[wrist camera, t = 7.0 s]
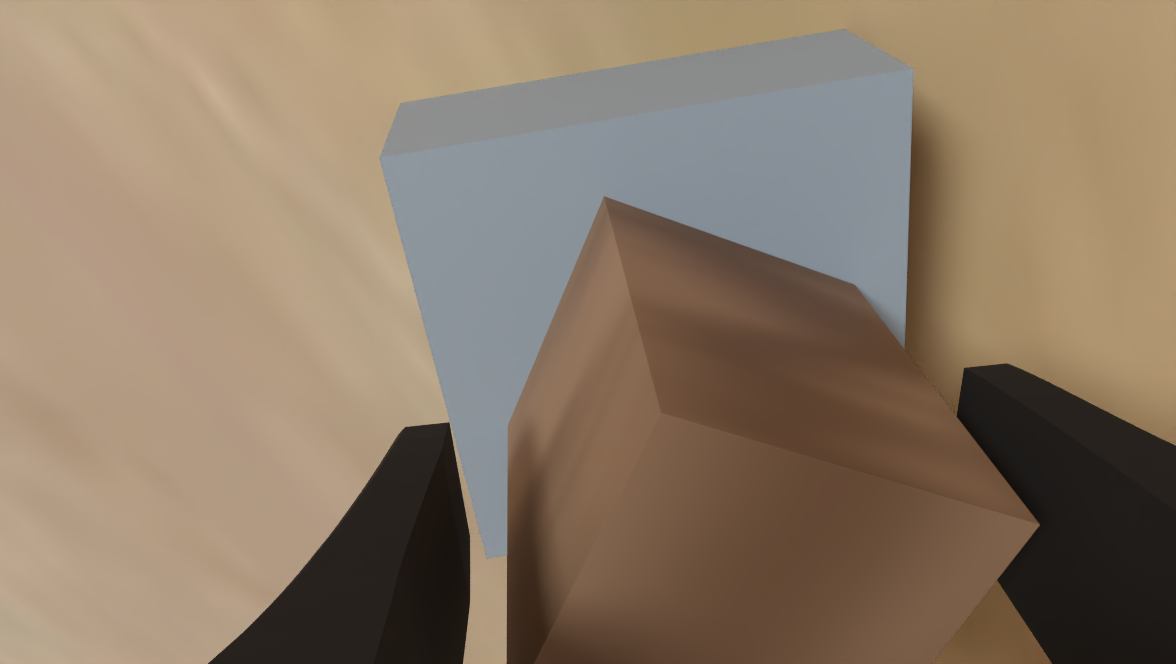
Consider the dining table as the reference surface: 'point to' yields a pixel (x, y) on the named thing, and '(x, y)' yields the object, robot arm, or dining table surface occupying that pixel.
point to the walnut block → (737, 469)
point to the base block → (638, 199)
